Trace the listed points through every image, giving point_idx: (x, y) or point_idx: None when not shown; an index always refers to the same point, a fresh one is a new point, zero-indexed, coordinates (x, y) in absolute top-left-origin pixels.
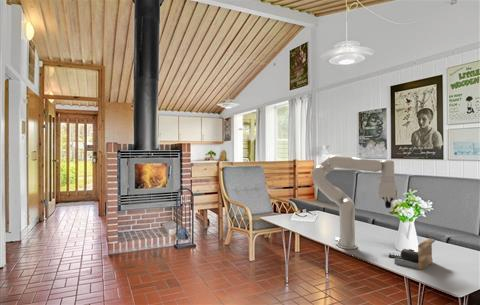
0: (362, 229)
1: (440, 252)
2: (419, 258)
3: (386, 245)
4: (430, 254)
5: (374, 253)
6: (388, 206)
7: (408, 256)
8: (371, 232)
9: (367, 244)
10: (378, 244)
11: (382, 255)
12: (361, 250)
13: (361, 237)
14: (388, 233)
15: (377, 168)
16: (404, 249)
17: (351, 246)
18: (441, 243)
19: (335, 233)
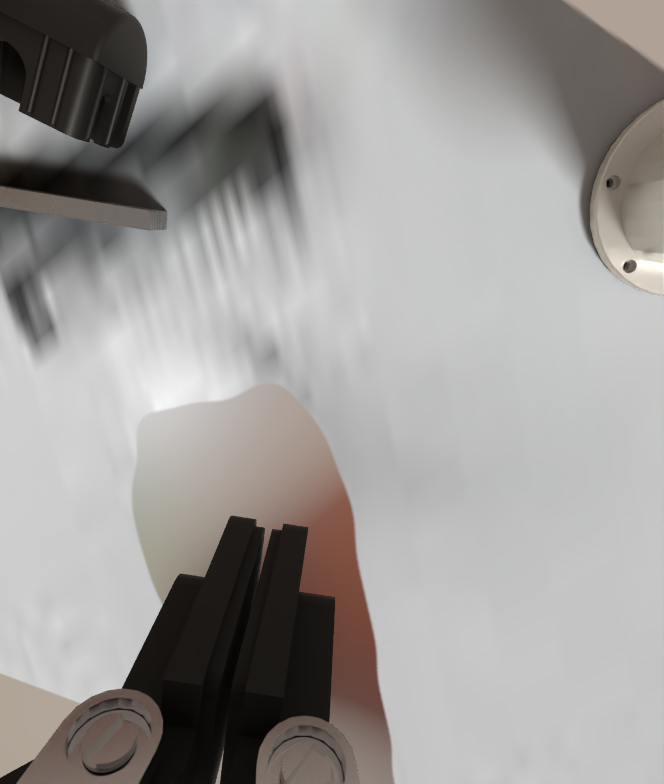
0: (621, 765)
1: (9, 480)
2: None
3: (370, 440)
4: None
5: (410, 125)
6: (220, 547)
7: None
8: (543, 721)
9: (518, 379)
10: (433, 432)
11: (334, 108)
12: (537, 146)
13: (598, 555)
14: (422, 749)
15: None
16: (85, 34)
17: (651, 144)
18: (71, 685)
19: None
